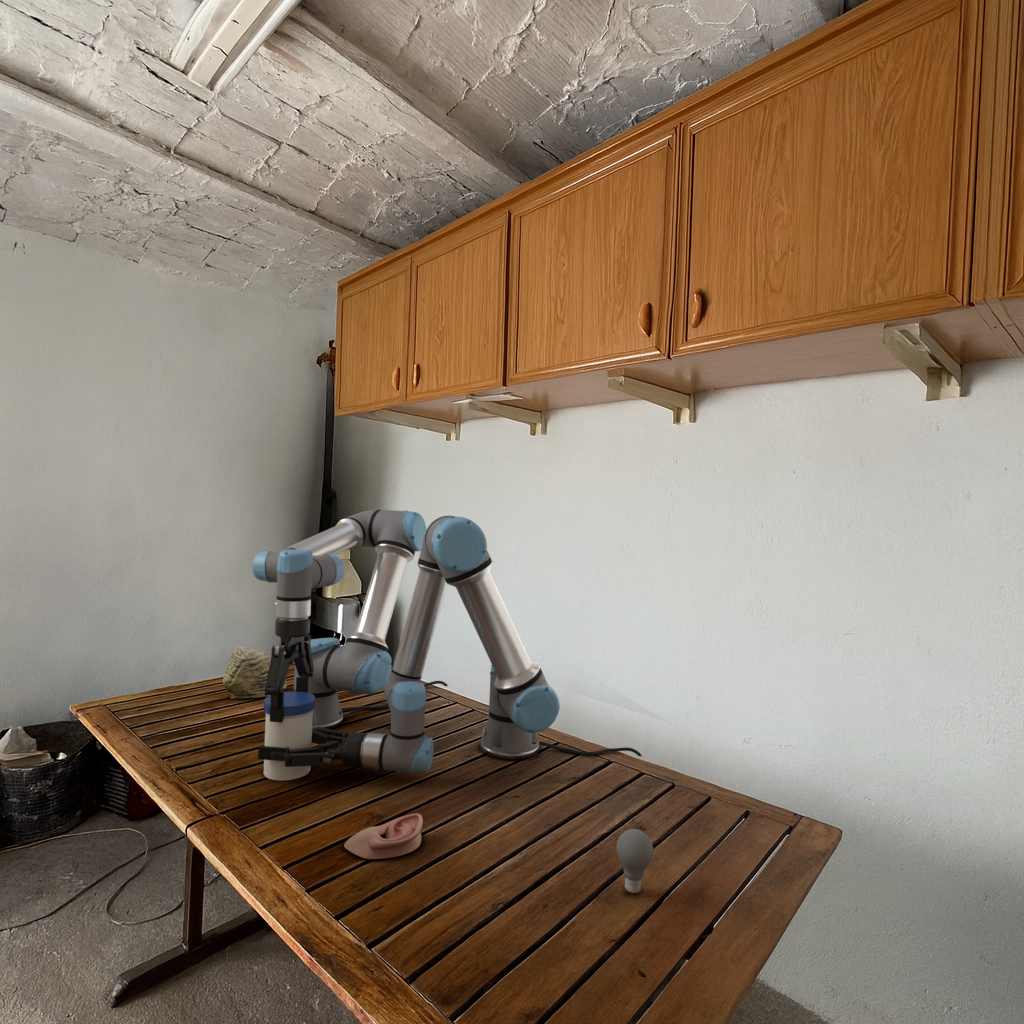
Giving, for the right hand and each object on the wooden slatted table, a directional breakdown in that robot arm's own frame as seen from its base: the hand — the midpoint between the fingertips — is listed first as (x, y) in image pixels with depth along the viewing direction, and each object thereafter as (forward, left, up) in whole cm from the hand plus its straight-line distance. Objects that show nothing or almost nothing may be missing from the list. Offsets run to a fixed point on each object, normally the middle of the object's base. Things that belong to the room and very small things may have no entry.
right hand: (270, 743), depth 146 cm
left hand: (-4, +2, +7) cm, 8 cm away
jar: (-4, +2, -6) cm, 7 cm away
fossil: (+5, -58, -6) cm, 58 cm away
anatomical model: (-20, +38, -6) cm, 44 cm away
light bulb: (-57, +64, -6) cm, 86 cm away
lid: (-4, +2, +10) cm, 11 cm away
